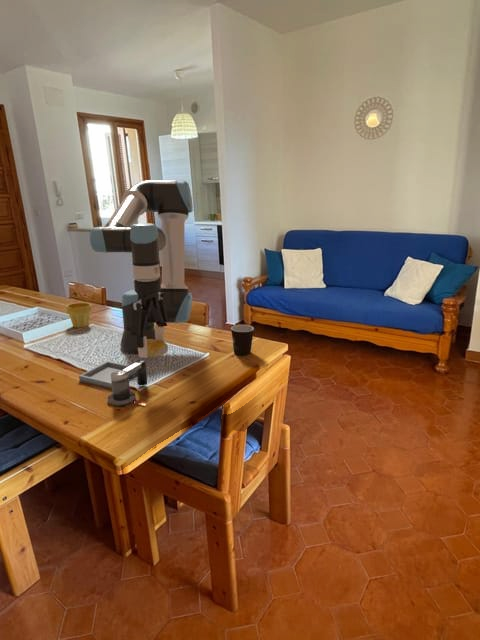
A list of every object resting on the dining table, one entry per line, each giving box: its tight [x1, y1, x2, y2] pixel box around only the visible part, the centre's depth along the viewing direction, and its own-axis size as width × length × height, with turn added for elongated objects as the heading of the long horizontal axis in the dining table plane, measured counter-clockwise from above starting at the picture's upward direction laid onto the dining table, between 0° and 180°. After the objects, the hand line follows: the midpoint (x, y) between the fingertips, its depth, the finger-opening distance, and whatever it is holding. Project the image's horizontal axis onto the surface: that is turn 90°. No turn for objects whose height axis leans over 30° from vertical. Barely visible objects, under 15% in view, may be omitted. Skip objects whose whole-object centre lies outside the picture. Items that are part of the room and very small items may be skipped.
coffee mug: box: [230, 324, 255, 357], centre depth 159 cm, size 12×9×10 cm
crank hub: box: [107, 379, 147, 408], centre depth 121 cm, size 12×8×7 cm, turn 66°
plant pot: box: [66, 302, 92, 329], centre depth 189 cm, size 10×10×10 cm
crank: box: [111, 359, 148, 386], centre depth 126 cm, size 14×5×8 cm, turn 156°
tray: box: [78, 360, 137, 390], centre depth 138 cm, size 14×14×2 cm
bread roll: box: [147, 339, 169, 358], centre depth 126 cm, size 8×9×4 cm
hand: (152, 351), depth 126 cm, fingers closed on bread roll, 8 cm apart
